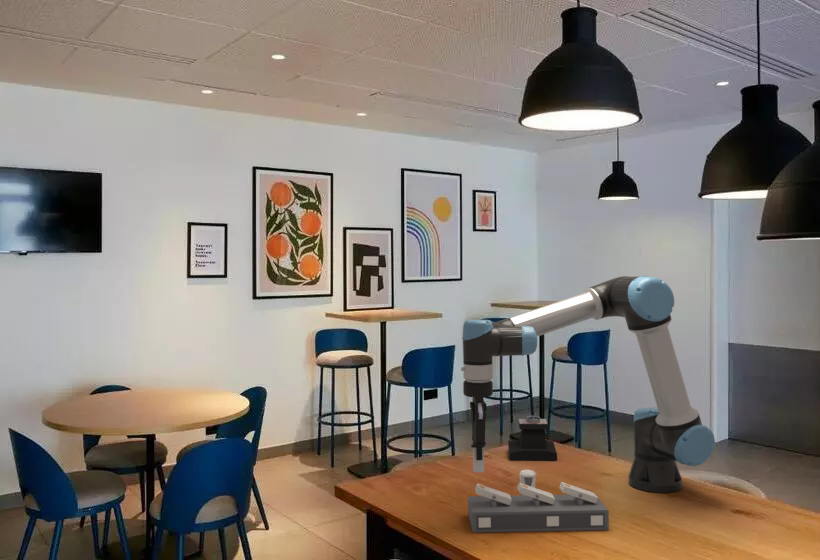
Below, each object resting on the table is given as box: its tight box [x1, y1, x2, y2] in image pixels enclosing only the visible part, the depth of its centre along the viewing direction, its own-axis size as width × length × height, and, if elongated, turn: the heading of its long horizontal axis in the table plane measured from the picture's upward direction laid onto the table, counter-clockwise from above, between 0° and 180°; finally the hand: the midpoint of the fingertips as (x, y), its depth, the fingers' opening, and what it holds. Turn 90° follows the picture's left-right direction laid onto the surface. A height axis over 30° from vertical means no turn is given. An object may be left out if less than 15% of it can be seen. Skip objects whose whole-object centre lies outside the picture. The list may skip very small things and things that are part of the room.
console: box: [467, 493, 610, 533], centre depth 177 cm, size 34×12×6 cm, turn 90°
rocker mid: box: [516, 482, 555, 504], centre depth 177 cm, size 9×5×2 cm, turn 91°
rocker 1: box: [474, 482, 512, 505], centre depth 177 cm, size 9×5×2 cm, turn 91°
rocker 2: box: [559, 481, 599, 504], centre depth 177 cm, size 9×5×2 cm, turn 91°
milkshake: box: [519, 469, 539, 496], centre depth 191 cm, size 4×5×10 cm
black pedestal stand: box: [507, 415, 558, 462], centre depth 239 cm, size 16×14×15 cm
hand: (478, 471), depth 177 cm, fingers closed
